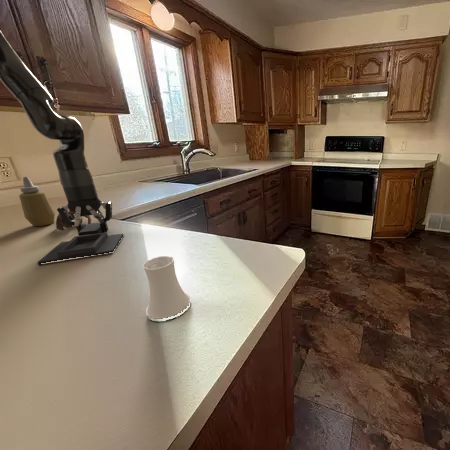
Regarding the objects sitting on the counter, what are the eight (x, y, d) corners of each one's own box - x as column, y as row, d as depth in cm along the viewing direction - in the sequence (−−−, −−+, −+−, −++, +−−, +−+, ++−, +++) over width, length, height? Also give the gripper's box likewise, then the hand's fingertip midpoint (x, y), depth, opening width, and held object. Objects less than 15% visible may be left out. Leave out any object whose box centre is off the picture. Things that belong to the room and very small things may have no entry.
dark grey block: (80, 241, 77) (77, 232, 76) (90, 231, 85) (87, 223, 84) (100, 238, 79) (97, 230, 78) (107, 229, 87) (105, 221, 86)
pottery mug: (58, 226, 92) (66, 205, 93) (89, 233, 96) (96, 213, 97) (44, 228, 81) (54, 204, 82) (80, 235, 86) (89, 213, 87)
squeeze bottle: (27, 229, 88) (6, 179, 82) (30, 224, 94) (10, 176, 88) (57, 224, 93) (39, 176, 87) (58, 219, 99) (42, 174, 93)
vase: (186, 318, 44) (176, 270, 40) (140, 325, 42) (125, 276, 39) (194, 294, 51) (186, 250, 47) (154, 299, 49) (143, 254, 46)
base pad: (38, 265, 63) (35, 257, 62) (62, 245, 75) (59, 237, 74) (113, 253, 69) (110, 245, 68) (123, 236, 81) (122, 229, 80)
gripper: (109, 180, 82) (122, 227, 88) (54, 183, 76) (72, 234, 82) (102, 183, 75) (117, 234, 81) (42, 188, 70) (62, 242, 76)
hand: (94, 234), depth 82 cm, fingers closed on dark grey block, 5 cm apart
